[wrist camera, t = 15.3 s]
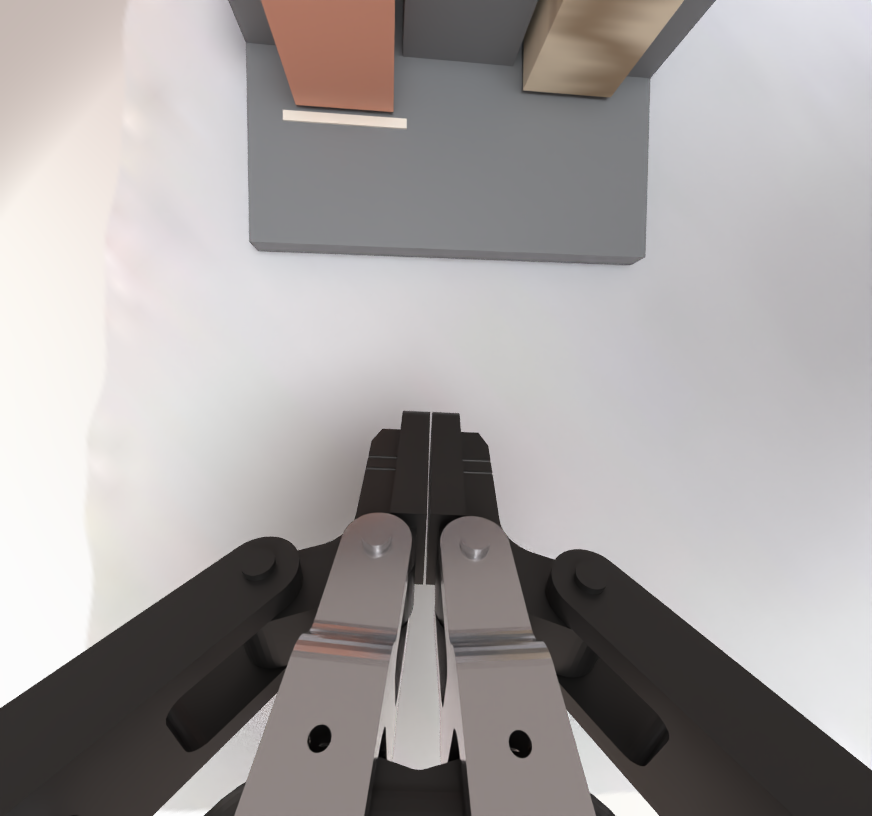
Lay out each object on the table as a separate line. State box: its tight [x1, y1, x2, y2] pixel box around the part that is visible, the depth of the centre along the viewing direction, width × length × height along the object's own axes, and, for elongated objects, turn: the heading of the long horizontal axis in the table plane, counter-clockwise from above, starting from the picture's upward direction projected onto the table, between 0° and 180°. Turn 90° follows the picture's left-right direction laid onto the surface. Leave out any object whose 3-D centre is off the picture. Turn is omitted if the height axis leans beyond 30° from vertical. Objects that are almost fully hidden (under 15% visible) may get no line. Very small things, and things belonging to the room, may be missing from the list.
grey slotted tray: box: [228, 0, 716, 265], centre depth 21 cm, size 22×20×8 cm
